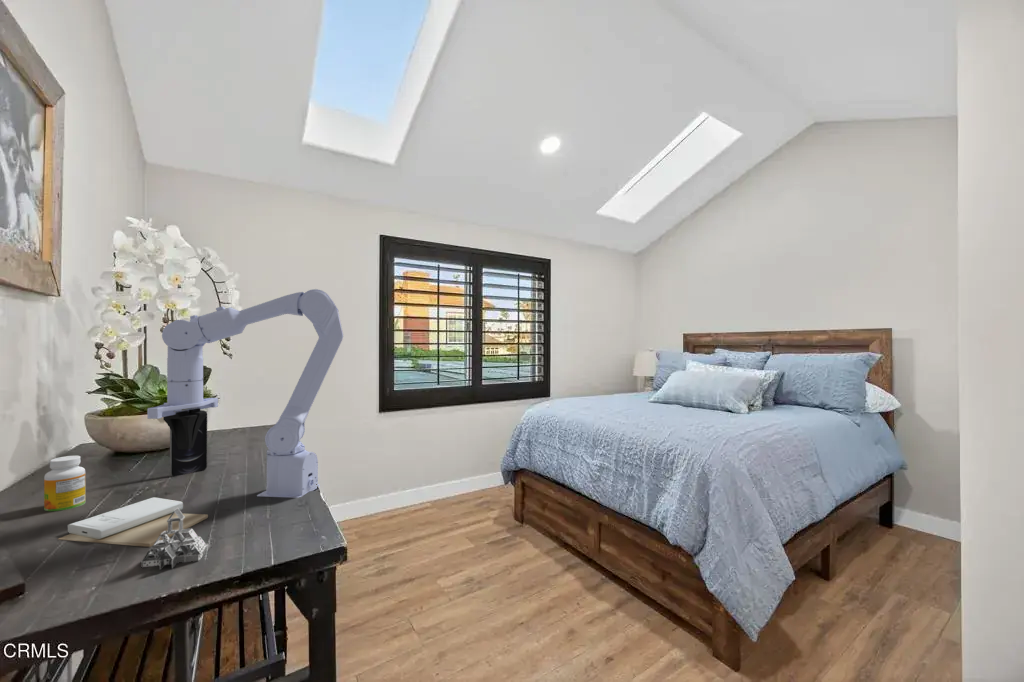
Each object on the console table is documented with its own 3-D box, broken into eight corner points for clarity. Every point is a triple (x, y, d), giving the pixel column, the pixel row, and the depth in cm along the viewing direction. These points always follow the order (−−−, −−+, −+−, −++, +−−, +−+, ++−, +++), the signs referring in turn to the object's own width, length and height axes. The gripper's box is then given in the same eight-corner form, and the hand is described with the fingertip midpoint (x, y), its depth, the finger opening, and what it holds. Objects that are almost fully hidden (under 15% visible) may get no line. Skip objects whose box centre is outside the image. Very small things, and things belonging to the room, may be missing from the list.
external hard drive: (183, 510, 78) (101, 540, 66) (152, 505, 81) (67, 533, 69) (183, 501, 78) (101, 529, 66) (152, 496, 81) (67, 523, 69)
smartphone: (170, 478, 98) (170, 414, 98) (169, 478, 98) (169, 413, 98) (207, 470, 104) (207, 409, 104) (205, 469, 105) (206, 409, 105)
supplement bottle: (44, 509, 80) (44, 458, 80) (84, 501, 84) (84, 453, 84) (43, 517, 76) (43, 464, 76) (86, 509, 80) (86, 458, 80)
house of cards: (102, 593, 54) (102, 533, 54) (139, 559, 62) (140, 507, 62) (185, 581, 57) (185, 524, 57) (210, 551, 65) (211, 501, 65)
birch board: (207, 517, 76) (207, 514, 76) (150, 547, 65) (150, 543, 65) (127, 514, 78) (127, 511, 78) (57, 542, 67) (57, 538, 67)
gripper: (196, 377, 92) (196, 439, 92) (131, 384, 78) (131, 458, 78) (227, 377, 92) (227, 440, 92) (167, 384, 77) (167, 458, 77)
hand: (185, 448), depth 85 cm, fingers closed
